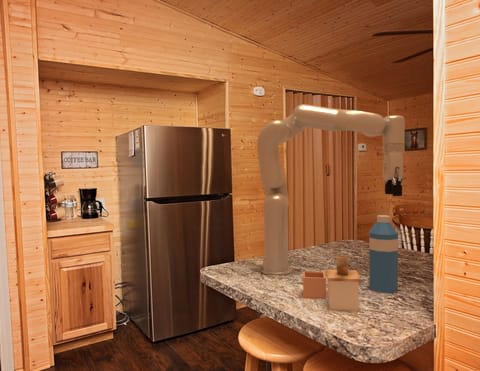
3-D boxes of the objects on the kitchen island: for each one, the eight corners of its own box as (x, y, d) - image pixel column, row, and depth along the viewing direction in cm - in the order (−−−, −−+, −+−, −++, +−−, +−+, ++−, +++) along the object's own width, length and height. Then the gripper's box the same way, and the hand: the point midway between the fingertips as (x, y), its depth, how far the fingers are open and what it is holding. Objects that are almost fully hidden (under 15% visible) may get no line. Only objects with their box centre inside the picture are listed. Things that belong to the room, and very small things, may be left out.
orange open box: (303, 299, 115) (303, 277, 115) (303, 292, 122) (303, 271, 122) (326, 300, 114) (325, 278, 114) (324, 293, 121) (324, 272, 121)
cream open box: (329, 311, 106) (329, 280, 105) (327, 301, 114) (327, 272, 113) (358, 312, 104) (358, 281, 104) (354, 302, 112) (354, 273, 112)
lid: (327, 280, 105) (327, 260, 105) (325, 272, 114) (325, 253, 114) (360, 281, 103) (360, 261, 103) (356, 272, 112) (356, 254, 112)
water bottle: (374, 283, 130) (374, 213, 129) (401, 289, 124) (402, 215, 123) (364, 290, 123) (364, 216, 122) (393, 296, 117) (393, 218, 116)
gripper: (377, 150, 146) (376, 193, 147) (389, 148, 129) (389, 197, 129) (396, 150, 145) (396, 193, 146) (412, 147, 128) (411, 196, 129)
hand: (393, 195), depth 138 cm, fingers open, 9 cm apart
